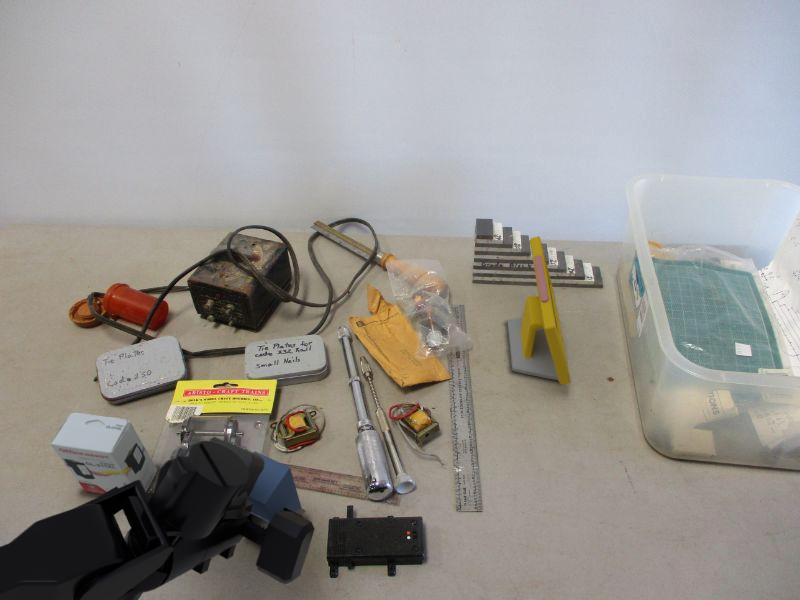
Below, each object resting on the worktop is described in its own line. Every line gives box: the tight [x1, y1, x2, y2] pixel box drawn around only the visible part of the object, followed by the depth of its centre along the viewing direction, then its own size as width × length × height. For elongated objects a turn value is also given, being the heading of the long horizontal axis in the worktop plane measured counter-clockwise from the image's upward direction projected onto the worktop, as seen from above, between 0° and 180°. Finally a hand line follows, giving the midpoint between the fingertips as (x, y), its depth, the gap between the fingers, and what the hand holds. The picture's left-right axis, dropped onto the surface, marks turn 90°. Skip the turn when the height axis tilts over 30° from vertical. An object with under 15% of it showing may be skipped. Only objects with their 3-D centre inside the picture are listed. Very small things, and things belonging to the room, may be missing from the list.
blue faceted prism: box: [247, 450, 303, 521], centre depth 71 cm, size 5×5×13 cm
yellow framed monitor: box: [507, 236, 572, 386], centre depth 91 cm, size 20×8×16 cm, turn 176°
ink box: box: [49, 411, 158, 495], centre depth 77 cm, size 9×5×12 cm, turn 80°
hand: (271, 497), depth 70 cm, fingers open, 9 cm apart
